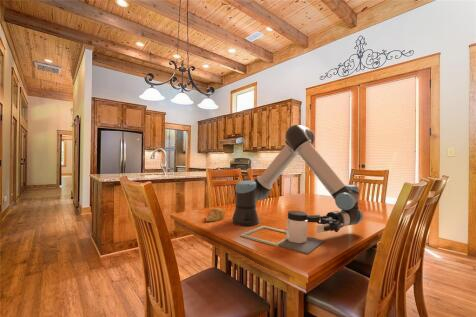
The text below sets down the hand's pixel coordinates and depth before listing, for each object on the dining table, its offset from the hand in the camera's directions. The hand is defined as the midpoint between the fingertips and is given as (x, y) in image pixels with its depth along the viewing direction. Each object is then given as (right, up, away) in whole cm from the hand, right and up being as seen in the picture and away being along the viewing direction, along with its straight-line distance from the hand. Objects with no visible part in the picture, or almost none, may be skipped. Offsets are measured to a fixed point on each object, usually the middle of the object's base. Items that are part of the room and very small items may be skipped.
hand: (304, 225), depth 97 cm
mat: (-1, -8, 0) cm, 8 cm away
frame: (-14, -8, +10) cm, 19 cm away
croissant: (-42, -8, +41) cm, 60 cm away
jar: (-3, -8, +3) cm, 9 cm away
